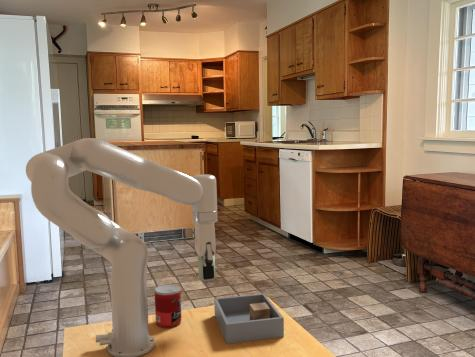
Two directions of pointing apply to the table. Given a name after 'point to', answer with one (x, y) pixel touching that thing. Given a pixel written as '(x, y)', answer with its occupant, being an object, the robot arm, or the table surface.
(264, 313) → the cube
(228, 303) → the tote
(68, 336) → the table surface
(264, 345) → the table surface
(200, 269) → the cylinder
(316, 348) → the table surface
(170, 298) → the canned food
